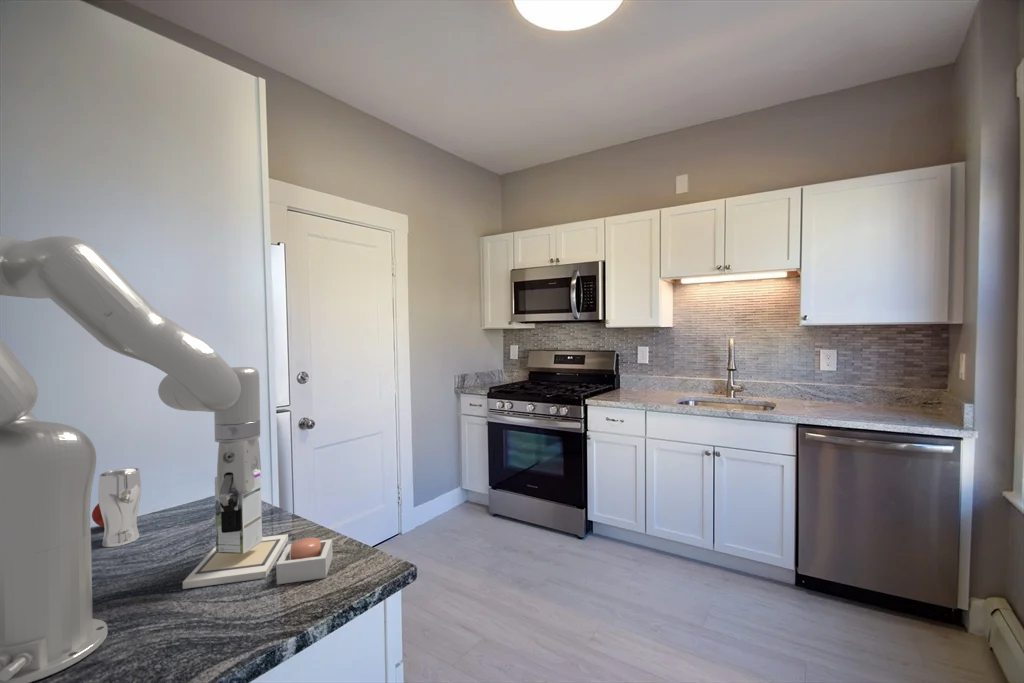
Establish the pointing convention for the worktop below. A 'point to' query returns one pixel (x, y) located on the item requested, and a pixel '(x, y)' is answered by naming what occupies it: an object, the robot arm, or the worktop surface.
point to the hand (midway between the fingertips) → (239, 522)
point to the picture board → (237, 564)
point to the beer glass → (119, 505)
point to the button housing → (304, 565)
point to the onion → (97, 516)
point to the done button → (306, 548)
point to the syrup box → (250, 521)
